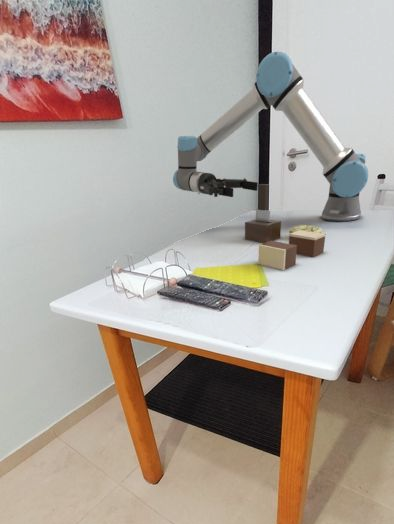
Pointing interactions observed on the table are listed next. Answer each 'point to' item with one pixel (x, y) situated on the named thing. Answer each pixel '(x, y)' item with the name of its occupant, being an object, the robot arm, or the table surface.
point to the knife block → (262, 231)
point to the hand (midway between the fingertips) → (245, 189)
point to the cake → (308, 242)
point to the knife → (263, 204)
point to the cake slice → (277, 255)
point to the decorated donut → (305, 228)
